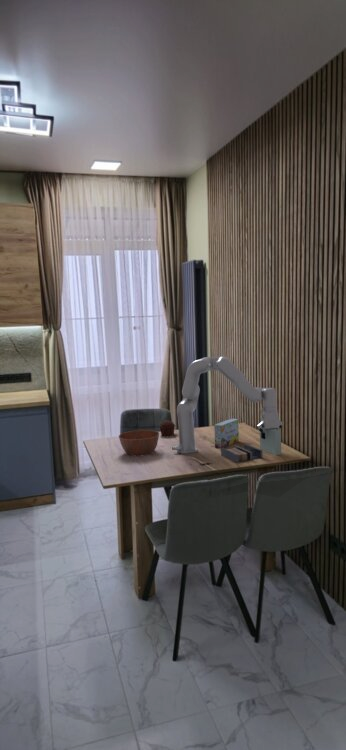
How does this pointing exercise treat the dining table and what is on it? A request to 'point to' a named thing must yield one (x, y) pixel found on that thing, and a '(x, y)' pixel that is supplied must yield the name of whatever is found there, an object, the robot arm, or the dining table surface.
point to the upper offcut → (238, 452)
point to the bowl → (139, 442)
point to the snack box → (226, 433)
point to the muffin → (167, 428)
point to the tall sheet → (271, 441)
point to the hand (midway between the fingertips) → (270, 437)
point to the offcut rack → (250, 450)
